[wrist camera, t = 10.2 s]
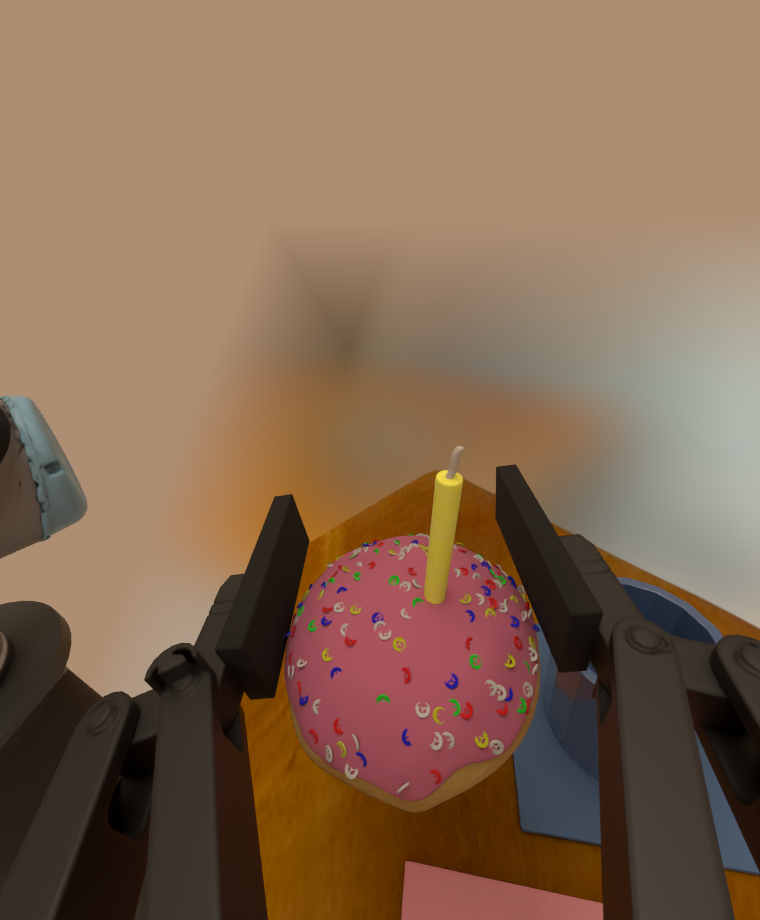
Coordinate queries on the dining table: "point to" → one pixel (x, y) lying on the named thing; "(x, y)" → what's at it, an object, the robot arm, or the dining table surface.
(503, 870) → the dining table surface
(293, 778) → the dining table surface
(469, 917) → the rose mat
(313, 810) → the dining table surface
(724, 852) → the blue mat
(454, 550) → the cupcake
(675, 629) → the blue cup
